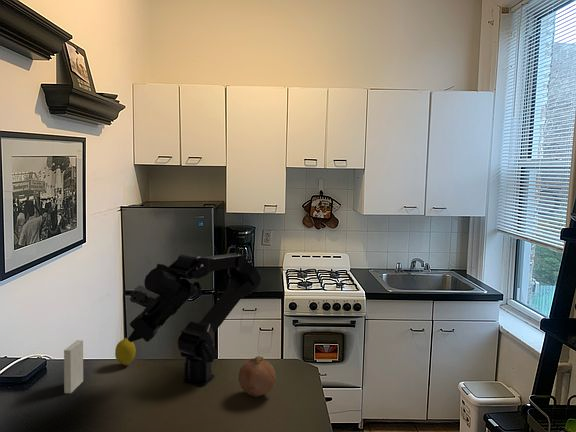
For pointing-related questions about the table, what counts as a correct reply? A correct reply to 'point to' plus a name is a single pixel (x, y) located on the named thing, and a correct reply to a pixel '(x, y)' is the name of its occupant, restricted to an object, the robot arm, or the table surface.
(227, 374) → the table surface
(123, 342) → the lemon
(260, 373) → the onion
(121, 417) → the table surface
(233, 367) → the table surface
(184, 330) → the robot arm
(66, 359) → the tile
